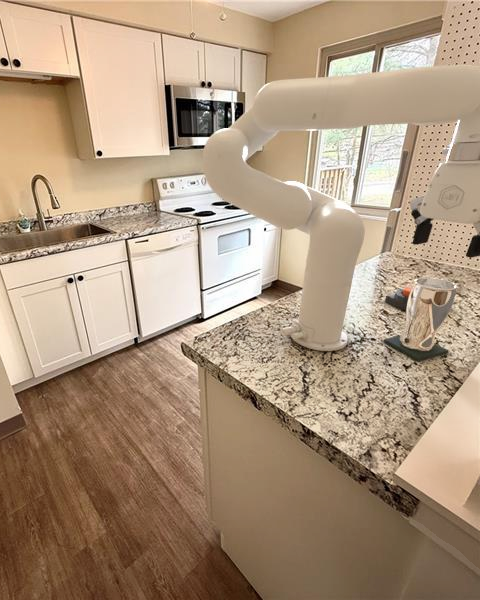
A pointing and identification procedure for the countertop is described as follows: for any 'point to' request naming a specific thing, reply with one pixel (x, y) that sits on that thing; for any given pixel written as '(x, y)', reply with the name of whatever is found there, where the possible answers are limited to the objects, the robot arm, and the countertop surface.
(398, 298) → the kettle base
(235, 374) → the countertop surface
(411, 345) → the beer glass
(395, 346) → the mat
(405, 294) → the switch
